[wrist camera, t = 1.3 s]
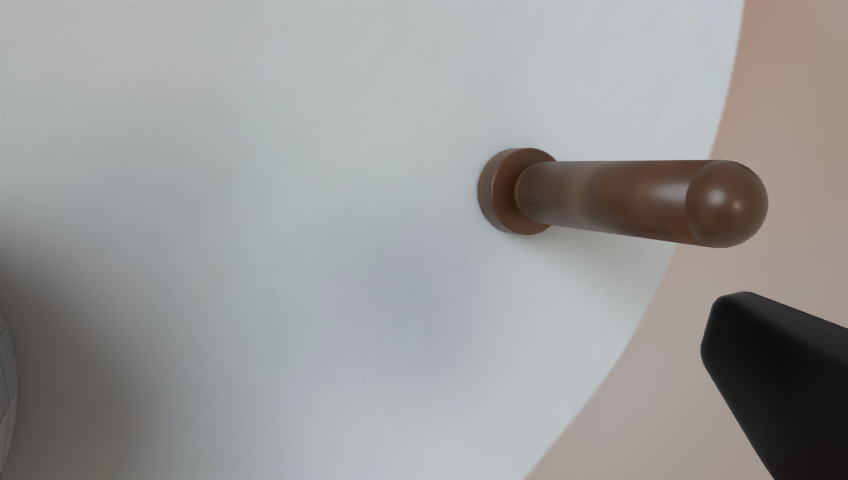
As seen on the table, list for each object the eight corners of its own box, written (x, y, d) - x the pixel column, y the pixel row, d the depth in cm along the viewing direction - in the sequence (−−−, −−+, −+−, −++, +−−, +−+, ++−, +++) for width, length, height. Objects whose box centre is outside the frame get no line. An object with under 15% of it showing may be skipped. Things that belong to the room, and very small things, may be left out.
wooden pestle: (565, 183, 30) (824, 193, 19) (520, 249, 30) (758, 299, 19) (509, 131, 29) (748, 109, 18) (460, 198, 29) (676, 220, 17)
